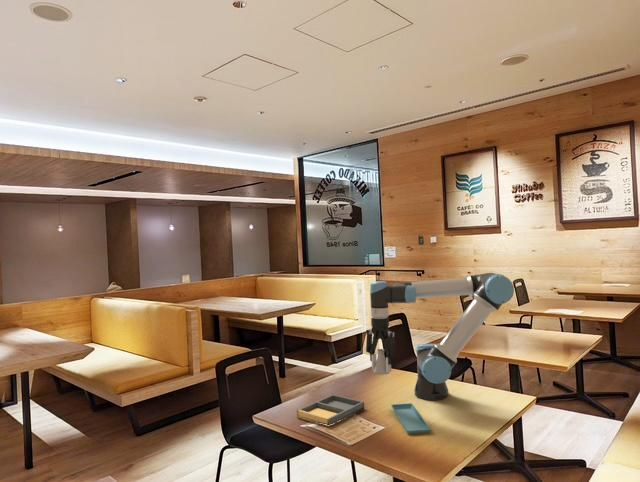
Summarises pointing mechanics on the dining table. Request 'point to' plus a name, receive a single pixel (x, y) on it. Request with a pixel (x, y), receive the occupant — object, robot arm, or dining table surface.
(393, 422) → the dining table surface
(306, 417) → the caddy
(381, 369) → the flask
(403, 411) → the shallow long dish
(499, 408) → the dining table surface
